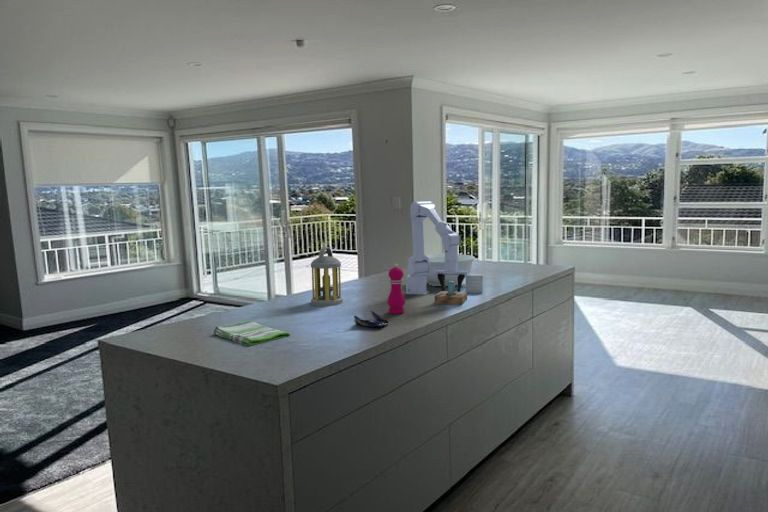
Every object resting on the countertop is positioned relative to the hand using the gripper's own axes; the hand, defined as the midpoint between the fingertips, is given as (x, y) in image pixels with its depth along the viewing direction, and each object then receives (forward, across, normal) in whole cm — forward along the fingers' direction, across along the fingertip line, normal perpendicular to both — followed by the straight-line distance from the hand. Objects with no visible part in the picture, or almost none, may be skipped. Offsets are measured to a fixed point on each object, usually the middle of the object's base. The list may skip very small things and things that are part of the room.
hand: (451, 291), depth 243 cm
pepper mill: (+5, -17, -26) cm, 31 cm away
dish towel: (+6, -55, -73) cm, 92 cm away
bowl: (+5, -13, +42) cm, 44 cm away
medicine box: (+5, +6, +24) cm, 25 cm away
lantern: (+5, -53, -15) cm, 55 cm away
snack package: (+5, -19, -49) cm, 53 cm away
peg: (+5, 0, 0) cm, 5 cm away
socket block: (+5, 0, 0) cm, 5 cm away
